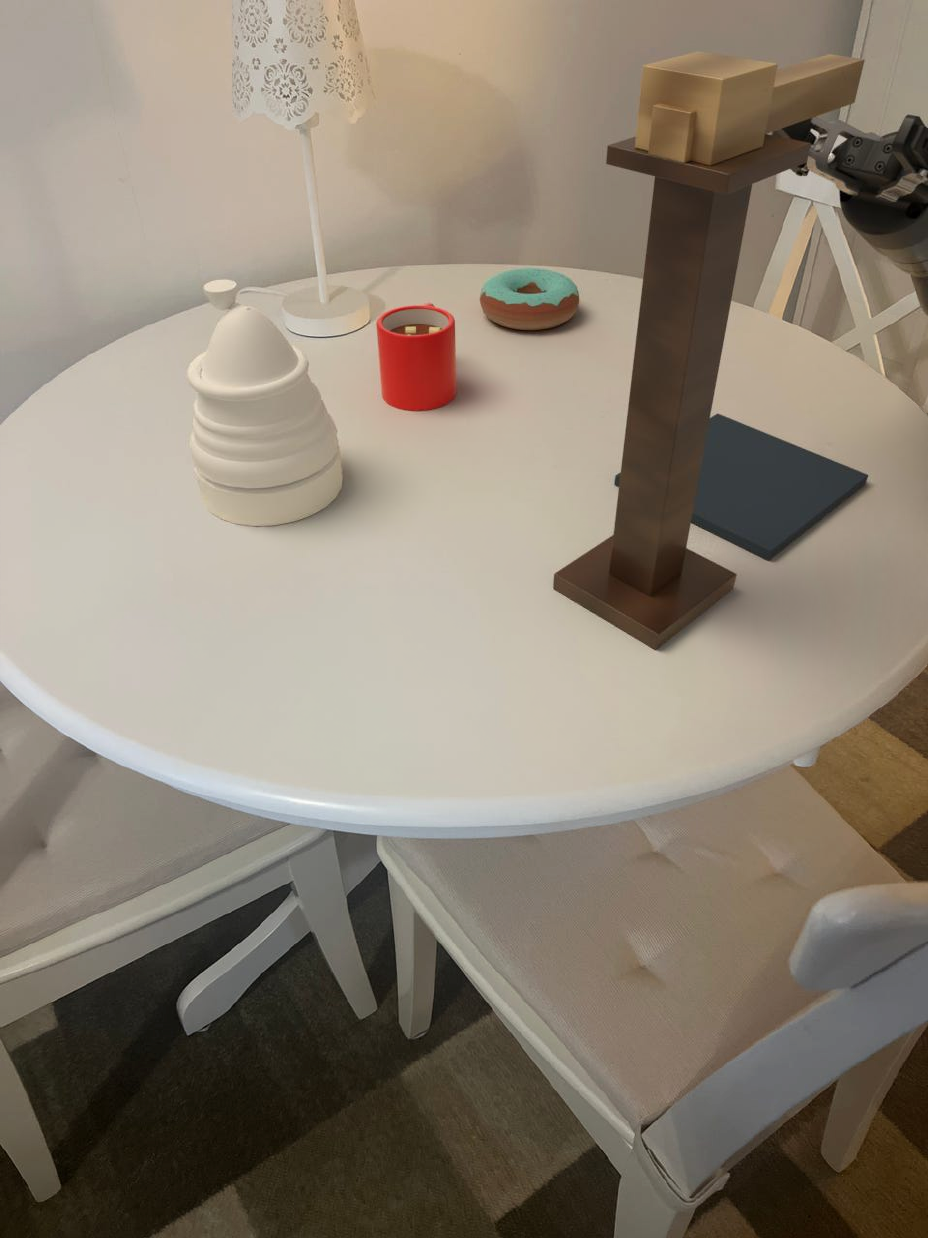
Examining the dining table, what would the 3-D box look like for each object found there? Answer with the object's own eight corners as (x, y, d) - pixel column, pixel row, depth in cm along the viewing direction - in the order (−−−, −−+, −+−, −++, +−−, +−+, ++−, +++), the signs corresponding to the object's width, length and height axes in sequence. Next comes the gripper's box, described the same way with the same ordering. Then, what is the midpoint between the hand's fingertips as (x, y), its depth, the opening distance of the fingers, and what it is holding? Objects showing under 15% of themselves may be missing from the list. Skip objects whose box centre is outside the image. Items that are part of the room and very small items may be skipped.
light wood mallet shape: (874, 106, 57) (893, 30, 55) (704, 168, 48) (717, 80, 45) (802, 93, 60) (816, 21, 57) (628, 149, 51) (636, 66, 48)
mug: (466, 360, 103) (465, 290, 98) (450, 412, 94) (448, 339, 89) (397, 356, 104) (392, 287, 99) (374, 408, 95) (368, 335, 90)
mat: (865, 484, 83) (868, 474, 82) (768, 561, 75) (771, 551, 74) (715, 421, 92) (717, 412, 91) (613, 484, 84) (615, 475, 83)
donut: (598, 313, 112) (601, 280, 109) (533, 345, 106) (535, 311, 103) (524, 287, 118) (525, 256, 116) (459, 315, 112) (458, 283, 109)
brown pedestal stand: (733, 588, 72) (837, 142, 51) (655, 650, 67) (735, 182, 46) (632, 535, 78) (688, 112, 57) (552, 588, 73) (581, 144, 51)
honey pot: (170, 496, 83) (118, 300, 71) (269, 435, 91) (237, 250, 79) (276, 543, 78) (238, 339, 66) (371, 473, 85) (353, 280, 74)
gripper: (845, 135, 75) (771, 43, 63) (1024, 170, 68) (981, 73, 55) (802, 228, 78) (723, 158, 65) (970, 272, 70) (918, 202, 57)
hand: (841, 119), depth 60 cm, fingers open, 8 cm apart
